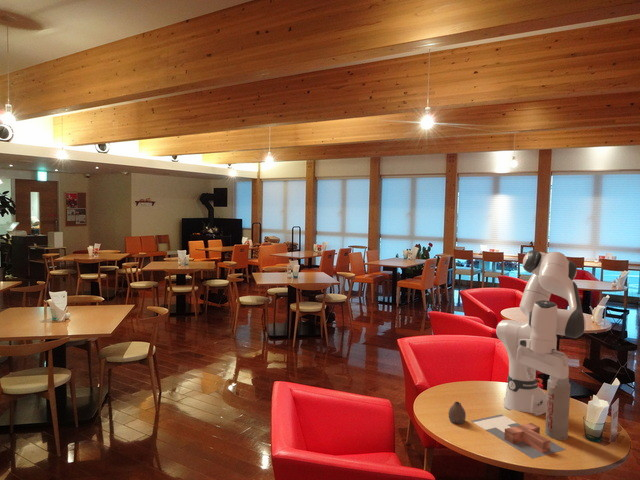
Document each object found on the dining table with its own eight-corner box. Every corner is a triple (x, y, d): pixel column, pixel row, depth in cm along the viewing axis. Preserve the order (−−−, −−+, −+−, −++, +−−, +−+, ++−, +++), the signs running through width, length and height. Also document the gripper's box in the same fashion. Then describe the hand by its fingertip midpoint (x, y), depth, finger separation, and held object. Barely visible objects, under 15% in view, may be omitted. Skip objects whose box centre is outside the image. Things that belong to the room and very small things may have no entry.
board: (501, 416, 198) (501, 414, 198) (565, 452, 170) (566, 449, 170) (470, 423, 192) (470, 420, 192) (532, 461, 163) (532, 458, 163)
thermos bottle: (550, 442, 177) (554, 371, 175) (541, 432, 185) (544, 364, 183) (571, 442, 177) (575, 371, 175) (561, 432, 185) (565, 364, 183)
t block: (530, 432, 182) (531, 422, 182) (559, 448, 170) (560, 437, 170) (504, 438, 177) (504, 428, 176) (532, 455, 165) (532, 444, 164)
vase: (466, 428, 187) (467, 407, 187) (448, 426, 189) (449, 405, 188) (464, 420, 194) (465, 400, 193) (447, 418, 195) (448, 398, 195)
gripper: (574, 353, 159) (571, 392, 159) (527, 338, 178) (524, 373, 178) (561, 354, 156) (558, 394, 157) (514, 339, 175) (512, 374, 176)
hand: (540, 383), depth 168 cm, fingers open, 8 cm apart
